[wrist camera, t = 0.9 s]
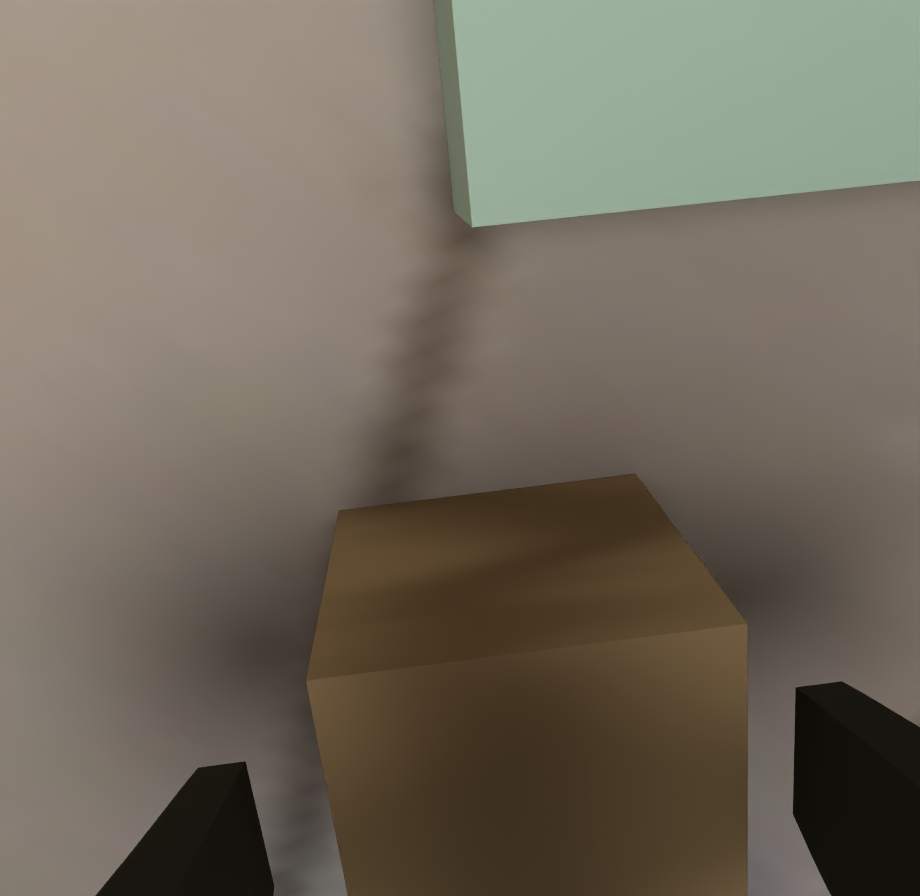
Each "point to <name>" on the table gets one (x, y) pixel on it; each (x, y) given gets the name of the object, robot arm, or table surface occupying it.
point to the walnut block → (531, 699)
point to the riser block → (672, 101)
